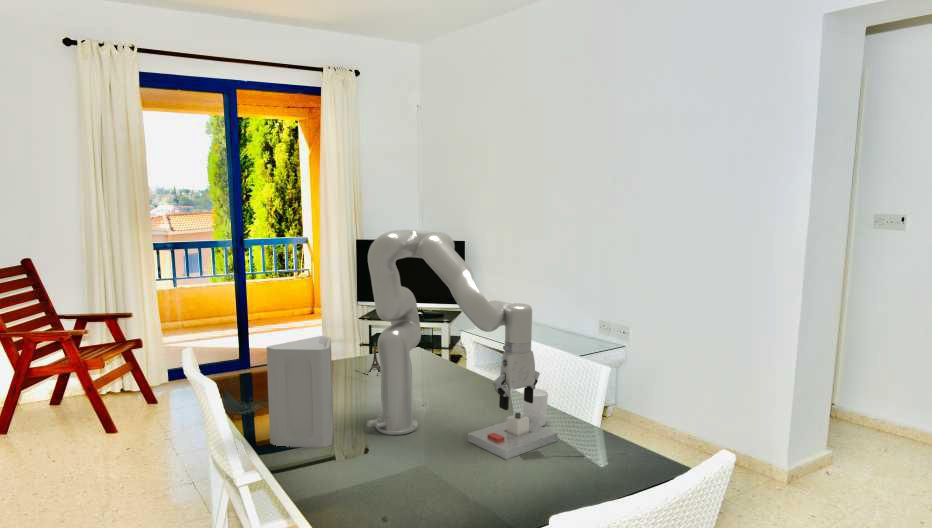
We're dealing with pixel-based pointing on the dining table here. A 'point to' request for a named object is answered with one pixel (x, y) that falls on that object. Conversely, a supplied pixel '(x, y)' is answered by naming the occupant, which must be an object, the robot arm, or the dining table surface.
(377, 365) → the eiffel tower figurine
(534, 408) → the white cup
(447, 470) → the dining table surface
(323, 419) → the paper bag
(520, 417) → the plug
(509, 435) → the socket plate
